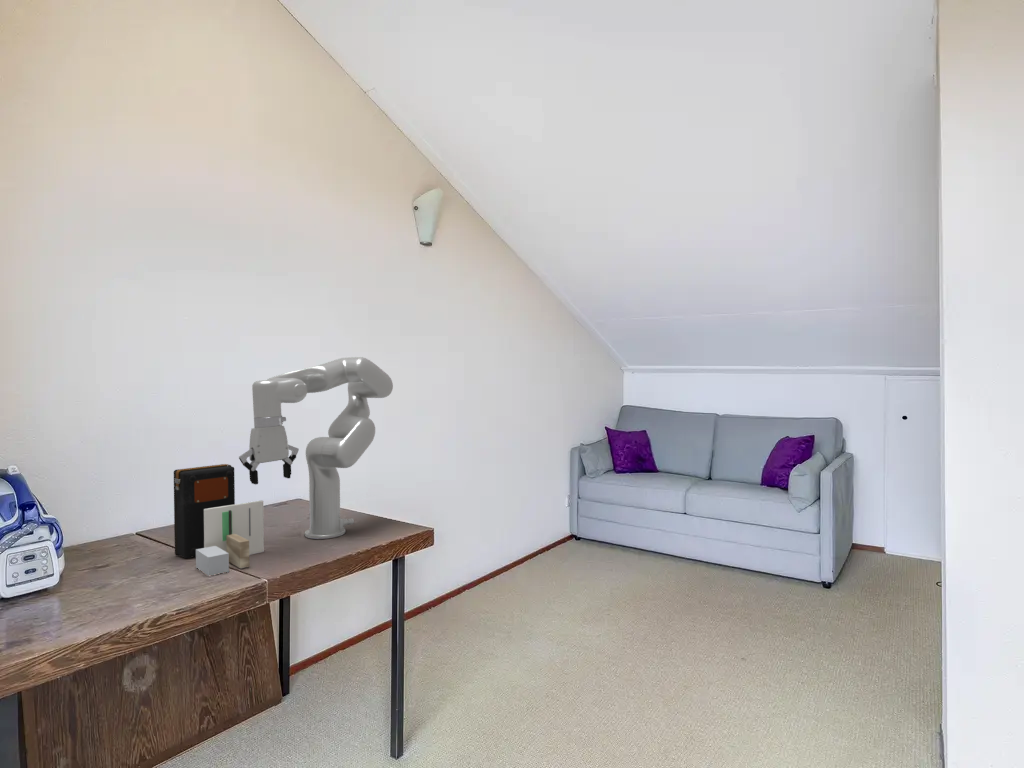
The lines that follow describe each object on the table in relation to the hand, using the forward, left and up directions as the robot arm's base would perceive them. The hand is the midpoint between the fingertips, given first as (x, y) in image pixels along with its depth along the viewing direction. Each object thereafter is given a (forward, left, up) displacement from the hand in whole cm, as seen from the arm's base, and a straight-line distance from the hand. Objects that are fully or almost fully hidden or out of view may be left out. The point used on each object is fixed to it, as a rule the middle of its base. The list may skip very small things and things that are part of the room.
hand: (271, 480), depth 177 cm
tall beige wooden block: (+12, +5, -21) cm, 24 cm away
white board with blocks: (+11, +4, -21) cm, 24 cm away
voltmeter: (+14, -14, -21) cm, 29 cm away
